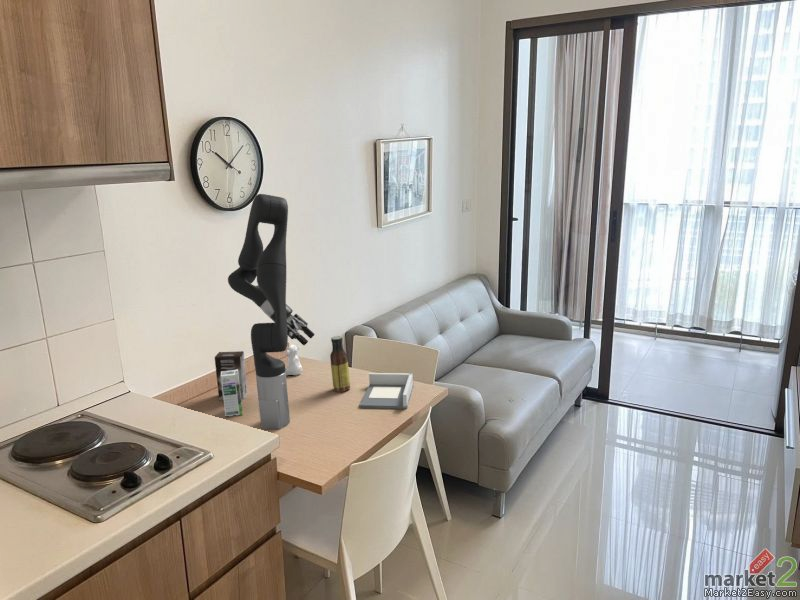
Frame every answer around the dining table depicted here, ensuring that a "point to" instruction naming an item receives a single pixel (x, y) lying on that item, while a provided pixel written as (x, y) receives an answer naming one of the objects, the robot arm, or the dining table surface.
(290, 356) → the sitting furry creature
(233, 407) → the syrup box
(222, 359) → the coffee box
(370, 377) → the grey tray
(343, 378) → the sauce bottle
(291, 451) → the dining table surface
